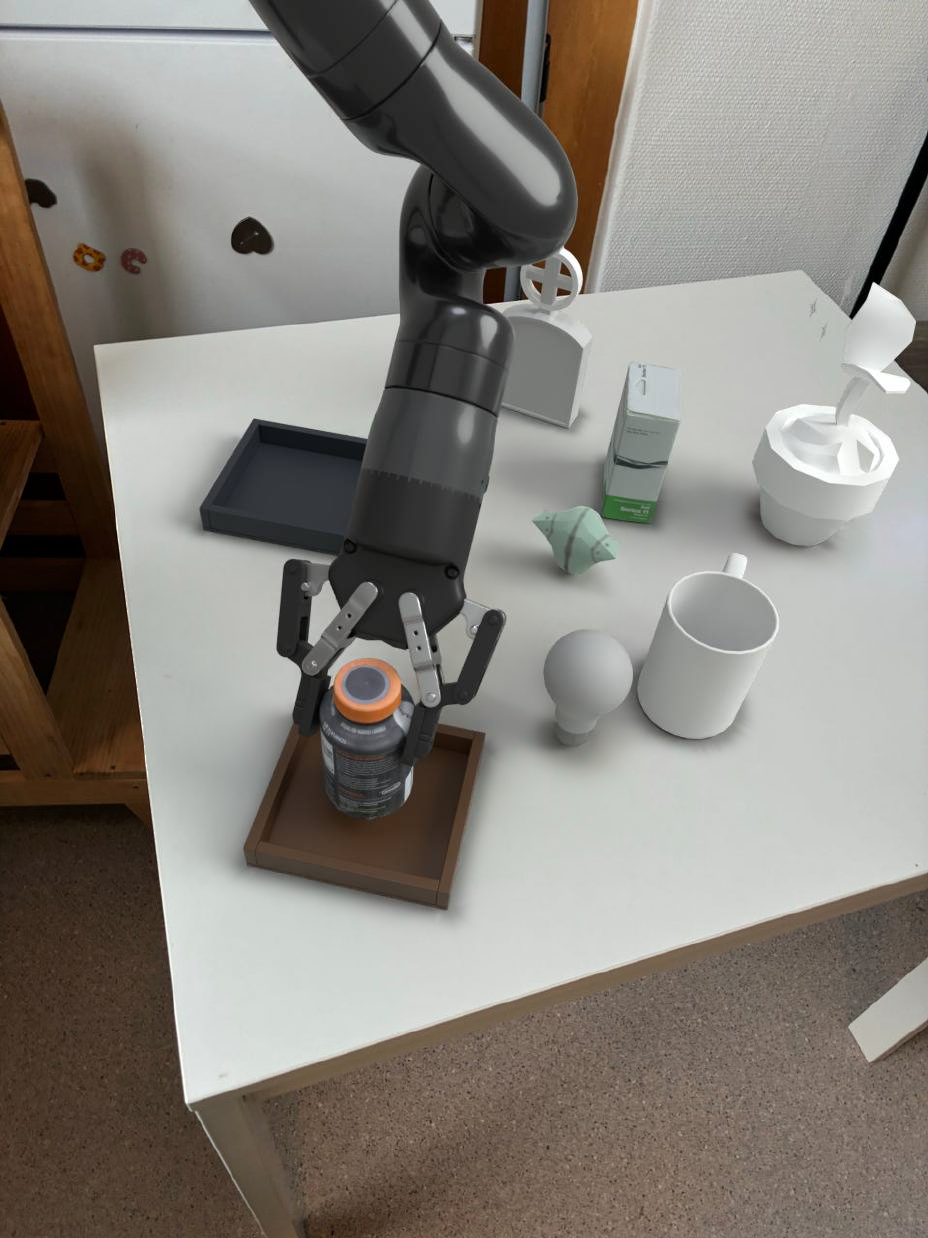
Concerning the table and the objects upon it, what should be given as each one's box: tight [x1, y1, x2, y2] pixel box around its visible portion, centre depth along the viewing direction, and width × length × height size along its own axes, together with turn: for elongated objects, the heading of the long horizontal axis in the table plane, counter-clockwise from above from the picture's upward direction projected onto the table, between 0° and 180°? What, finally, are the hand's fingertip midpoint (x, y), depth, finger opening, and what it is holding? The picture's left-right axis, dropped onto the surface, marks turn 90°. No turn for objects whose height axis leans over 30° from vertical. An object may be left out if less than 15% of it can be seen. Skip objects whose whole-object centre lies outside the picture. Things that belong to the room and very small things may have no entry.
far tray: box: [198, 418, 368, 557], centre depth 83 cm, size 16×14×3 cm
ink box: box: [601, 361, 682, 524], centre depth 83 cm, size 9×5×12 cm, turn 171°
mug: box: [636, 552, 780, 740], centre depth 69 cm, size 12×8×10 cm, turn 157°
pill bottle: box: [319, 657, 416, 820], centre depth 57 cm, size 6×6×11 cm
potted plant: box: [751, 264, 917, 547], centre depth 76 cm, size 13×12×25 cm
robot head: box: [531, 505, 620, 576], centre depth 78 cm, size 8×4×7 cm, turn 58°
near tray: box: [242, 722, 486, 911], centre depth 62 cm, size 14×13×2 cm
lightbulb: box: [542, 628, 634, 747], centre depth 64 cm, size 6×6×11 cm
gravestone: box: [501, 245, 594, 429], centre depth 89 cm, size 3×9×18 cm, turn 64°
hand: (358, 747), depth 55 cm, fingers closed on pill bottle, 6 cm apart
